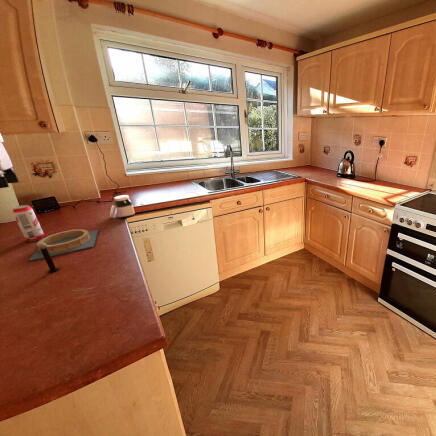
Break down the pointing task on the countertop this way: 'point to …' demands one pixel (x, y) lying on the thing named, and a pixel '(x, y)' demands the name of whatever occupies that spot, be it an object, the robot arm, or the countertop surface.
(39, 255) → the mat
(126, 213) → the spread jar
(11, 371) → the countertop surface
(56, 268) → the post stand
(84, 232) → the hoop
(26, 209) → the beer can
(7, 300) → the countertop surface
